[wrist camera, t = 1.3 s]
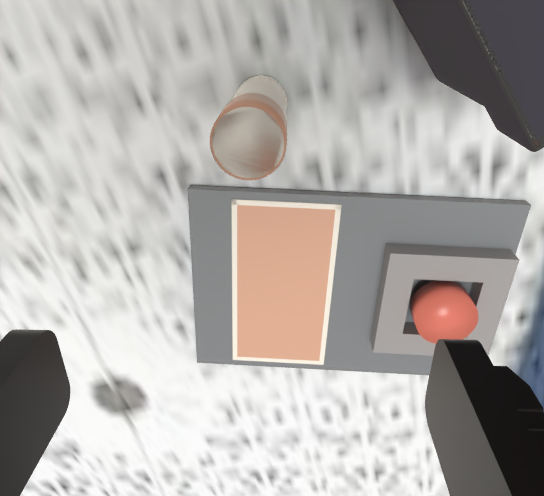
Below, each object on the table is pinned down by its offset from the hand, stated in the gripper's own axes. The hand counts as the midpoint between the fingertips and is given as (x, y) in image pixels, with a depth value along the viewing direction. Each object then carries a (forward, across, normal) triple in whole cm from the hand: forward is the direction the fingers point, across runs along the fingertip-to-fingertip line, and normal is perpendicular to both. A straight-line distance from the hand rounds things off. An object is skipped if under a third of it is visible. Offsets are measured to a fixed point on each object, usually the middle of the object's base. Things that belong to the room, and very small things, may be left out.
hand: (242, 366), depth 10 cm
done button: (+22, -12, +14) cm, 29 cm away
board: (+24, -5, +13) cm, 28 cm away
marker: (+24, +1, -1) cm, 24 cm away
